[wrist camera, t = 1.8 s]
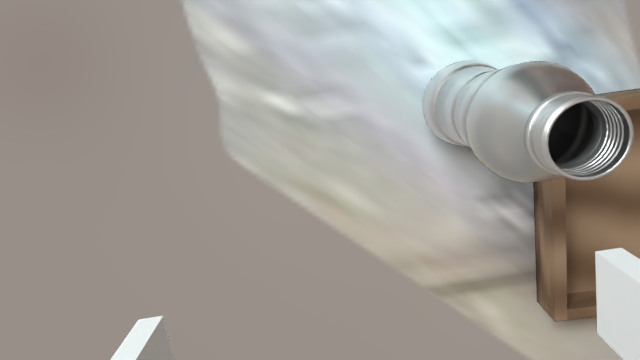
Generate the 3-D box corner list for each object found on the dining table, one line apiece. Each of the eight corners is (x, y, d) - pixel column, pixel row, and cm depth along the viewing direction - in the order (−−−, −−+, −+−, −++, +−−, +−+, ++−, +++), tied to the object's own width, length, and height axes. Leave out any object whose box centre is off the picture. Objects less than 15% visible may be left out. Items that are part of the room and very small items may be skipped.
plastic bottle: (491, 142, 40) (652, 219, 21) (411, 137, 40) (496, 208, 21) (504, 63, 39) (690, 65, 19) (420, 57, 38) (522, 53, 19)
